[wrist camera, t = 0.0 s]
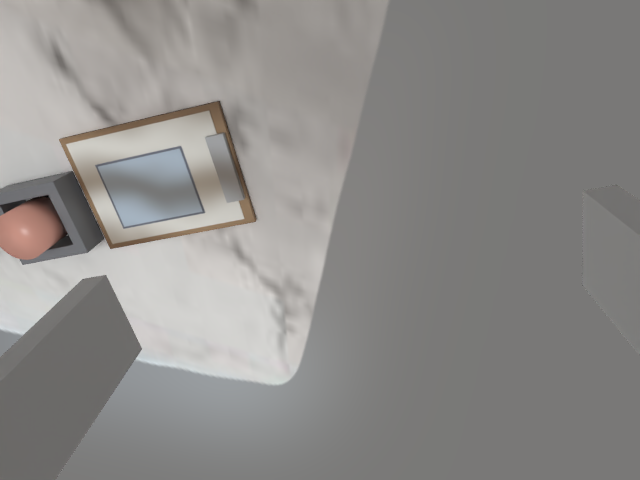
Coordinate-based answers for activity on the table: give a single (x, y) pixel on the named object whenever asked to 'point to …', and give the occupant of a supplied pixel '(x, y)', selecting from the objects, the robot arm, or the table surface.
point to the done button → (31, 228)
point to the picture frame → (161, 176)
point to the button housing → (68, 207)
